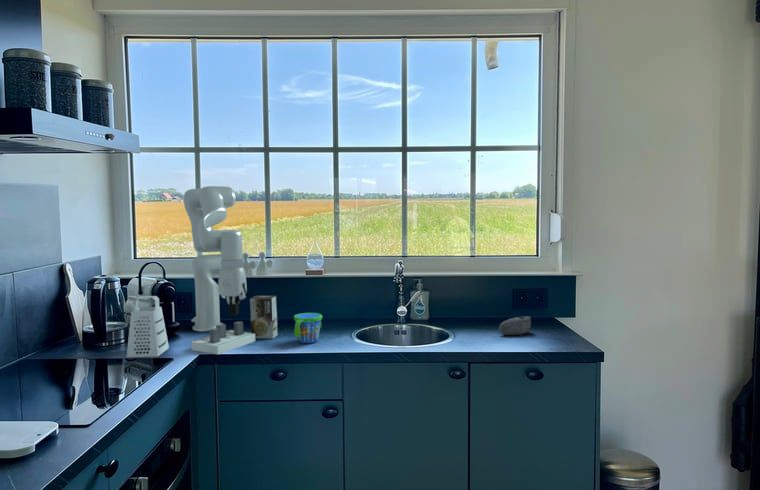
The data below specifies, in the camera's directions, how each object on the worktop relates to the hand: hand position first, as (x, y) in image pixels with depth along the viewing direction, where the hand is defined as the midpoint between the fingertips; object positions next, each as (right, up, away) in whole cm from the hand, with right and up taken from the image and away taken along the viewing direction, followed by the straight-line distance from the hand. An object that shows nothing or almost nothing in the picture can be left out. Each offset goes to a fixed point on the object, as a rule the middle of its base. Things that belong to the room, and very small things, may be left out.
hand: (234, 314), depth 175 cm
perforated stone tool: (+108, -11, +17) cm, 110 cm away
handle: (-6, -9, -3) cm, 12 cm away
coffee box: (+7, -12, +16) cm, 21 cm away
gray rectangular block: (-1, -9, +8) cm, 12 cm away
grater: (-29, -13, -4) cm, 32 cm away
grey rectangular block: (-6, -9, +4) cm, 12 cm away
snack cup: (+26, -12, +9) cm, 30 cm away
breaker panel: (-5, -12, +4) cm, 14 cm away
